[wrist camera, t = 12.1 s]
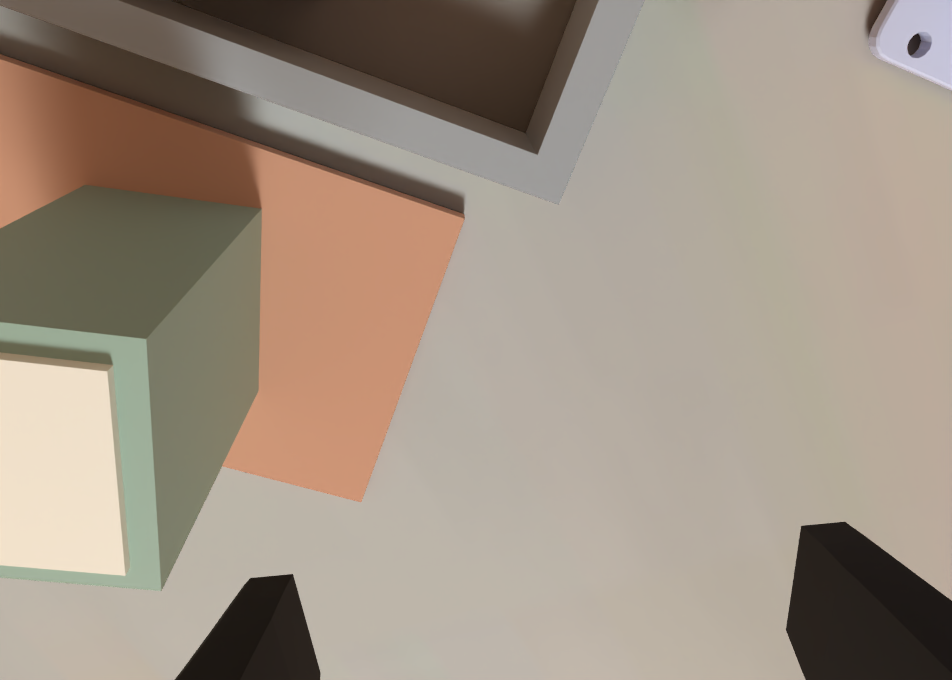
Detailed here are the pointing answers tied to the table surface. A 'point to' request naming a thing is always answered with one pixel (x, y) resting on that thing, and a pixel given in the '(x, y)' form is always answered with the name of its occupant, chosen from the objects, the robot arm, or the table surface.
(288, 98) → the parts bin
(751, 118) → the table surface
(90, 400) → the labelled box
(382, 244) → the mat
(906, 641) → the robot arm
